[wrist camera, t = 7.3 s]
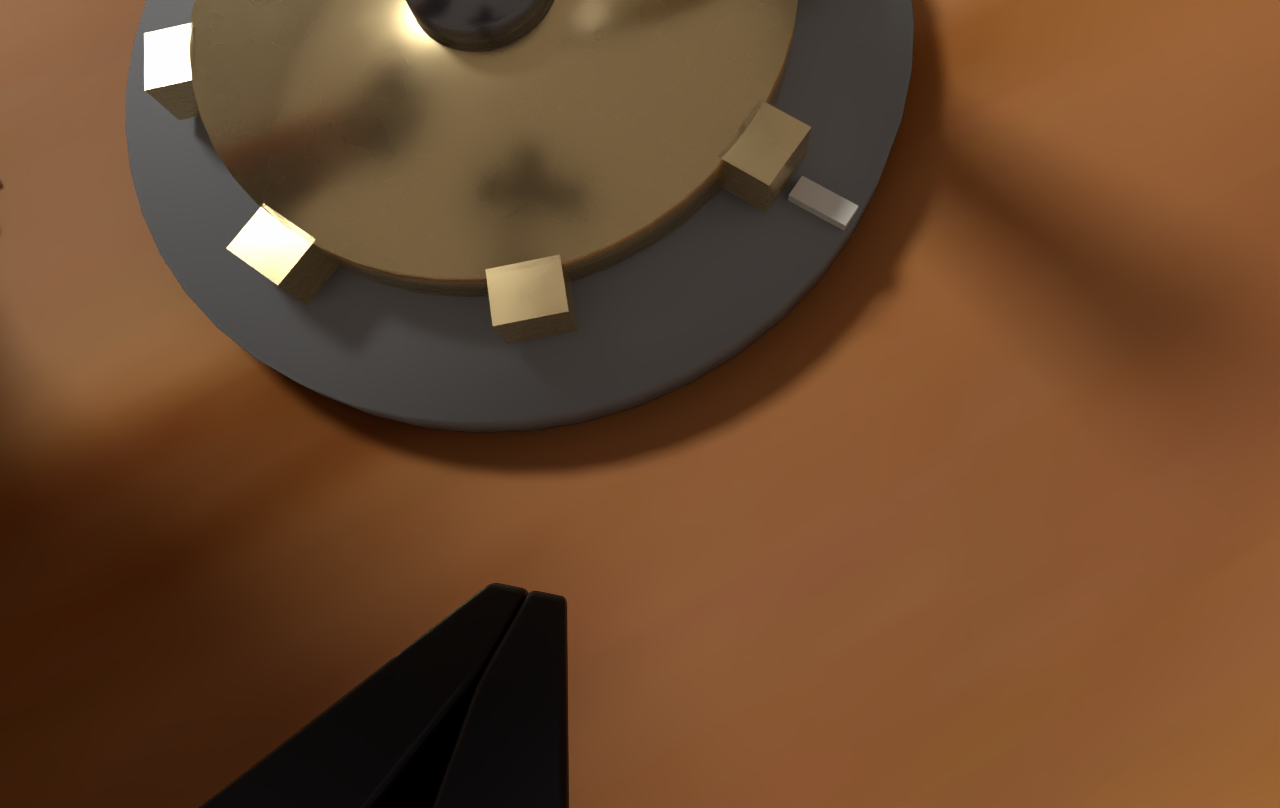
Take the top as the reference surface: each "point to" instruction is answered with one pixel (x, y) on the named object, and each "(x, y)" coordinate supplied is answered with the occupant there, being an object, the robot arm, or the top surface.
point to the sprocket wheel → (481, 134)
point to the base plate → (605, 301)
